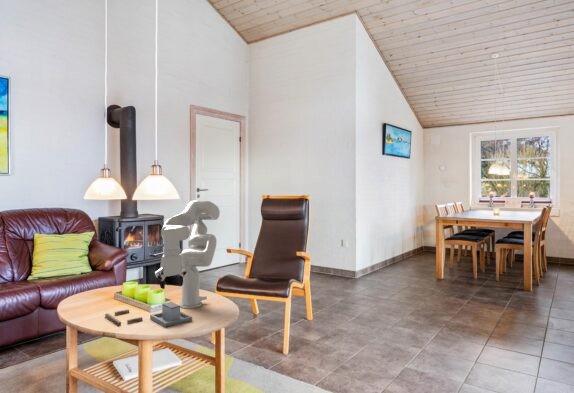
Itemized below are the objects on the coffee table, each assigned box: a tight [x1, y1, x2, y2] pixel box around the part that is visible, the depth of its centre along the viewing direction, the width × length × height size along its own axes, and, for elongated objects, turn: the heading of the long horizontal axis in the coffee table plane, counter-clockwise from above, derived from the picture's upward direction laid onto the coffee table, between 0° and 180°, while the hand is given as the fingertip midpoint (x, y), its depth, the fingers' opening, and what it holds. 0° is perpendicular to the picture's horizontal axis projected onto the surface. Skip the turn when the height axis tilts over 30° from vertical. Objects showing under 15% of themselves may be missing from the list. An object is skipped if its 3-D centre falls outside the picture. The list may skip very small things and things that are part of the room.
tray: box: [149, 310, 193, 328], centre depth 202 cm, size 14×16×2 cm
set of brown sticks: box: [104, 309, 143, 327], centre depth 202 cm, size 12×17×2 cm
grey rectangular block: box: [161, 301, 181, 321], centre depth 201 cm, size 5×9×7 cm, turn 43°
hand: (171, 286), depth 202 cm, fingers open, 9 cm apart
